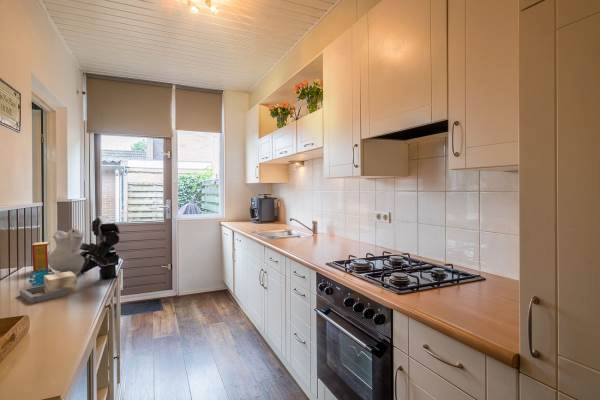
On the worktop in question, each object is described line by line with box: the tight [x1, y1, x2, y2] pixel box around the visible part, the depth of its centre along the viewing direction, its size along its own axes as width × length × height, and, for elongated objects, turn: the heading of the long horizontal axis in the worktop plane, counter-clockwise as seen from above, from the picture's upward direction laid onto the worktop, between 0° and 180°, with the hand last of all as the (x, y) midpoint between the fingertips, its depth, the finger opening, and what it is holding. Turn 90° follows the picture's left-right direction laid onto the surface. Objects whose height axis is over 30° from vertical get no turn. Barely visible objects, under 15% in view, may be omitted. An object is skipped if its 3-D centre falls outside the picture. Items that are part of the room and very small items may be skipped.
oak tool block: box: [44, 271, 78, 294], centre depth 145 cm, size 10×11×8 cm
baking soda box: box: [31, 241, 52, 274], centre depth 184 cm, size 10×6×16 cm
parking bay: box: [18, 284, 68, 304], centre depth 140 cm, size 12×18×2 cm
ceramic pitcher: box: [48, 228, 85, 276], centre depth 176 cm, size 22×20×25 cm
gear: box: [28, 268, 56, 287], centre depth 157 cm, size 11×6×10 cm
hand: (80, 273), depth 152 cm, fingers closed
